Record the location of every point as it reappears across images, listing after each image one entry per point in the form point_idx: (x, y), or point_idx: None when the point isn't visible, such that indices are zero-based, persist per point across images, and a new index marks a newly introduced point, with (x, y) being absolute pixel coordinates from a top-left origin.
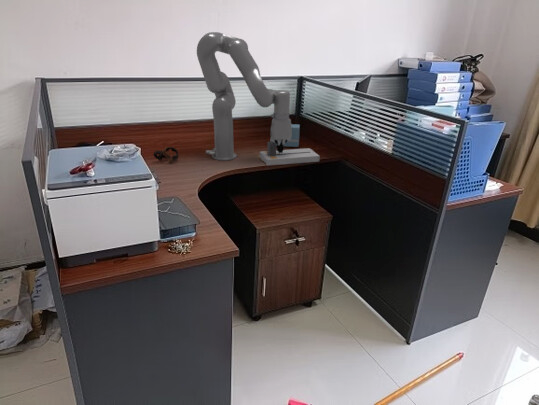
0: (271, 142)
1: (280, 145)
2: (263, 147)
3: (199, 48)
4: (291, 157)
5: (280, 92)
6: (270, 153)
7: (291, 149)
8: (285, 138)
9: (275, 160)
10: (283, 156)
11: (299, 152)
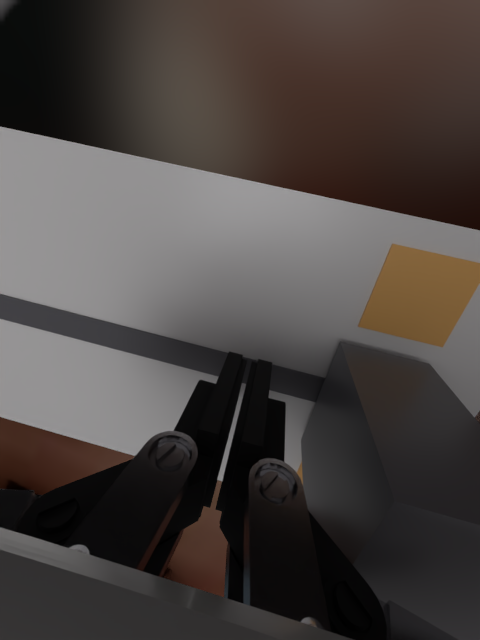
0: (414, 612)
1: (250, 443)
2: (220, 584)
3: None
4: (170, 187)
5: None
6: (439, 381)
7: (66, 434)
8: (14, 604)
9: (431, 220)
10: (253, 281)
11: (10, 320)
